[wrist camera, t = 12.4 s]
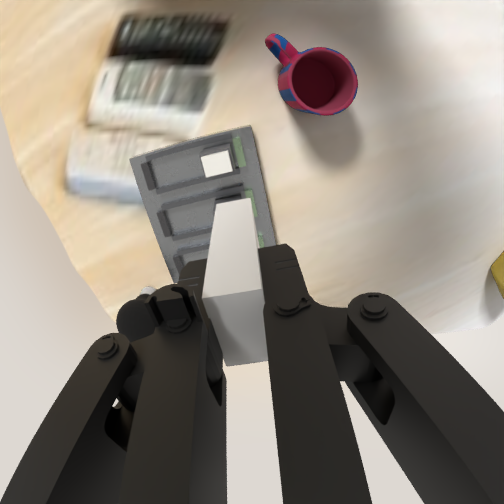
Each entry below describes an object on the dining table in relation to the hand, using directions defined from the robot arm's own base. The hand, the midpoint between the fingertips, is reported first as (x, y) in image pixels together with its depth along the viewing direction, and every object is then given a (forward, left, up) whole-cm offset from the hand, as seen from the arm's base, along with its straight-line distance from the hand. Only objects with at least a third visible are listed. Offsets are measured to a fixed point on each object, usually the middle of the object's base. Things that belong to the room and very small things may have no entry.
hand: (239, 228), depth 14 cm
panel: (+6, -5, -22) cm, 23 cm away
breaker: (0, -2, -20) cm, 20 cm away
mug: (-8, +8, -22) cm, 25 cm away
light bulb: (+16, -16, -22) cm, 32 cm away
